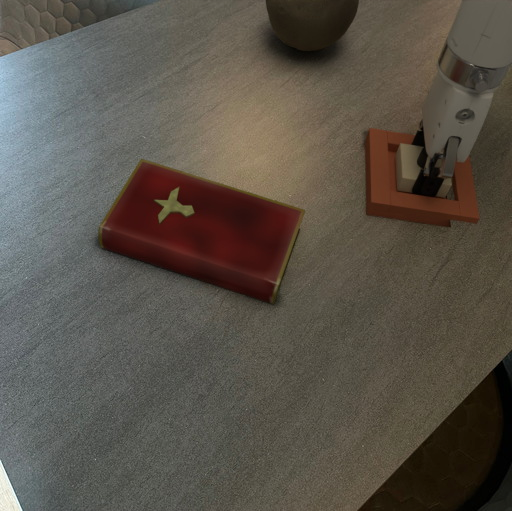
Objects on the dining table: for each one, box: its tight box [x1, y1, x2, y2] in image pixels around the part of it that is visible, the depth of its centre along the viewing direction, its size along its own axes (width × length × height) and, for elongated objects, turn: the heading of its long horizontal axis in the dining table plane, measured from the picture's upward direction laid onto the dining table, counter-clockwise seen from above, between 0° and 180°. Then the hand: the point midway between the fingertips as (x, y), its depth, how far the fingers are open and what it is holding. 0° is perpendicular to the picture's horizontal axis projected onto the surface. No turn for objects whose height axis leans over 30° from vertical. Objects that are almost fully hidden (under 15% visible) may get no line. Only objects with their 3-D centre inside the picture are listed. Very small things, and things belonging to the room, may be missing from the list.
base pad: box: [364, 127, 481, 228], centre depth 84 cm, size 14×14×2 cm
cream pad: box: [395, 143, 453, 198], centre depth 82 cm, size 6×6×4 cm
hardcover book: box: [97, 158, 306, 305], centre depth 73 cm, size 12×21×4 cm, turn 73°
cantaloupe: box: [265, 0, 360, 52], centre depth 95 cm, size 14×14×15 cm
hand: (421, 173), depth 84 cm, fingers closed on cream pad, 6 cm apart
